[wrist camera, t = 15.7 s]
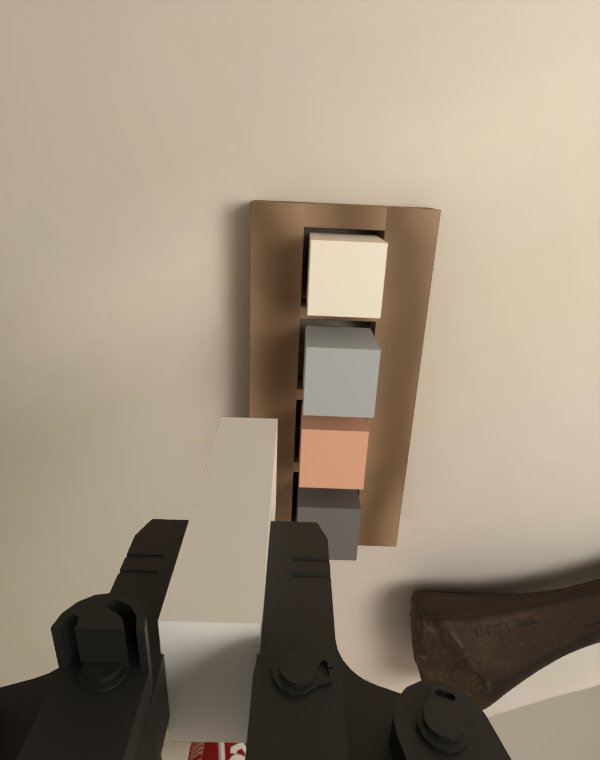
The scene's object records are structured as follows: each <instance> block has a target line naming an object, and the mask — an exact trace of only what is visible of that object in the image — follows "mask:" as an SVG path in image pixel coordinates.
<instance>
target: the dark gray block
mask: <svg viewBox="0 0 600 760" xmlns="http://www.w3.org/2000/svg"><path fill="white" fill-rule="evenodd" d="M360 517H361V505H360V500H359V495H358V489H336V488H309V487H299V472H298V488H297V509H296V522H317V523H318V525H319V526H320V528H321V529H322V531H323V532H324V534H325V535H326V537H327V539H328V549H329V560H356V557H357V547H358V537H359V527H360Z"/></svg>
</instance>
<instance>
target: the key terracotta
mask: <svg viewBox="0 0 600 760" xmlns="http://www.w3.org/2000/svg"><path fill="white" fill-rule="evenodd" d="M368 437H369V430H368V426H367V423H366V419H365V418H364V417H339V416H313V415H303V400H302V404H301V425H300V446H299V487H309V488H336V489H362V490H363V487H364V477H365V467H366V457H367V447H368Z"/></svg>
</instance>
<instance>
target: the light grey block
mask: <svg viewBox="0 0 600 760" xmlns="http://www.w3.org/2000/svg"><path fill="white" fill-rule="evenodd" d="M380 354H381V349H380V347H379V345H378V343H377V341H376V339H375V337H374V335H373V333H372V331H371V329H370V328H356V327H332V326H309V325H306V328H305V349H304V370H303V415H313V416H339V417H364V418H374V412H375V402H376V393H377V383H378V373H379V364H380Z"/></svg>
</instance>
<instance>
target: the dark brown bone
mask: <svg viewBox="0 0 600 760" xmlns="http://www.w3.org/2000/svg"><path fill="white" fill-rule="evenodd" d="M411 602H412V608H411V613H410V616H411V630H412V644H413V653H414V659H415V662H416V664H417V666H418V669H419V673H420V677H421V680H422V681H441V682H444V683H447V684H450V685H453V686H456V687H457V688H459V689H460V690H461V691H463V692H464V693H466V694H467V695H468V696H470V697H471V698H473V700H474V701H475V702H476V703H477V705H478V706H479V707H480V709H481V710H484V709H486V708H487V707H489V706H491V705H492V704H493V703H494V702H496V701H497V700H498V699H499V698H501V697H502V696H503V695H505V694H506V693H507V692H509V691H510V690H511V689H513V688H514V687H515V686H517V685H518V684H519V683H521V682H522V681H524V680H525V679H526V678H528V677H530V676H531V675H533V674H534V673H535V672H537V671H539V670H540V669H542V668H543V667H545V666H547V665H549V664H550V663H552V662H554V661H555V660H557V659H559V658H561V657H563V656H565V655H567V654H569V653H572V652H574V651H576V650H579V649H581V648H584V647H587V646H590V645H592V644H596V643H599V642H600V579H598V580H595V581H591V582H587V583H584V584H580V585H576V586H571V587H567V588H562V589H556V590H550V591H544V592H536V593H527V594H515V595H473V594H456V593H444V592H434V591H416V592H415V593H414V594H413V595H412V600H411Z"/></svg>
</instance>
